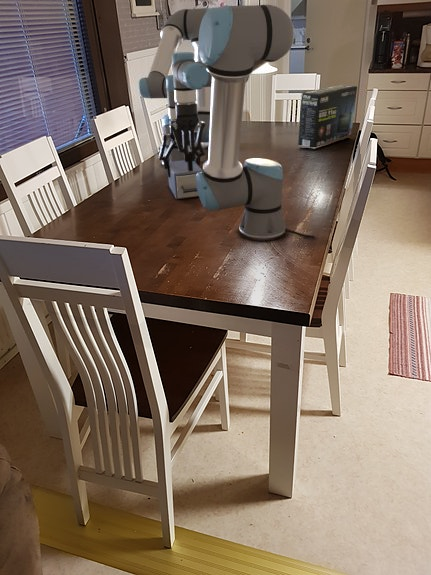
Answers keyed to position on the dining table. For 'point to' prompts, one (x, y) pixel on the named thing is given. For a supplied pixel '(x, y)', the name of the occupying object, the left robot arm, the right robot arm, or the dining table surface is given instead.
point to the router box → (326, 115)
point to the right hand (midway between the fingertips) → (190, 170)
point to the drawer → (186, 185)
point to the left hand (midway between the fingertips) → (183, 174)
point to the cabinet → (180, 173)
